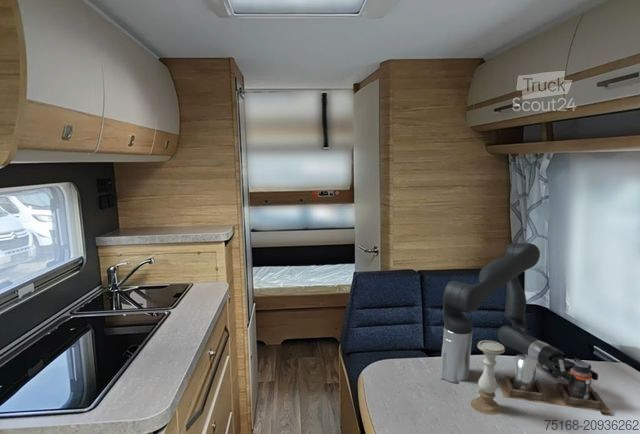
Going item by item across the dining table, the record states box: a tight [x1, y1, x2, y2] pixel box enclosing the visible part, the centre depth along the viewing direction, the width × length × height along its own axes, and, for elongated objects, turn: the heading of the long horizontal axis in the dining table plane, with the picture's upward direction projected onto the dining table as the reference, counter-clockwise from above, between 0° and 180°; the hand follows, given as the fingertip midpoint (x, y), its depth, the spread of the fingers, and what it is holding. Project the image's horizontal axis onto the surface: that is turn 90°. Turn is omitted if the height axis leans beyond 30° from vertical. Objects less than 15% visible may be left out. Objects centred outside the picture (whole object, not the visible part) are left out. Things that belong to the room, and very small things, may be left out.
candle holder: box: [470, 340, 506, 416], centre depth 131 cm, size 9×9×20 cm
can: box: [513, 353, 538, 392], centre depth 141 cm, size 6×6×11 cm
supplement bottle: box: [567, 361, 593, 400], centre depth 138 cm, size 6×6×11 cm
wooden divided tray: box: [497, 374, 612, 416], centre depth 140 cm, size 30×12×3 cm, turn 76°
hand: (586, 378), depth 136 cm, fingers open, 8 cm apart
